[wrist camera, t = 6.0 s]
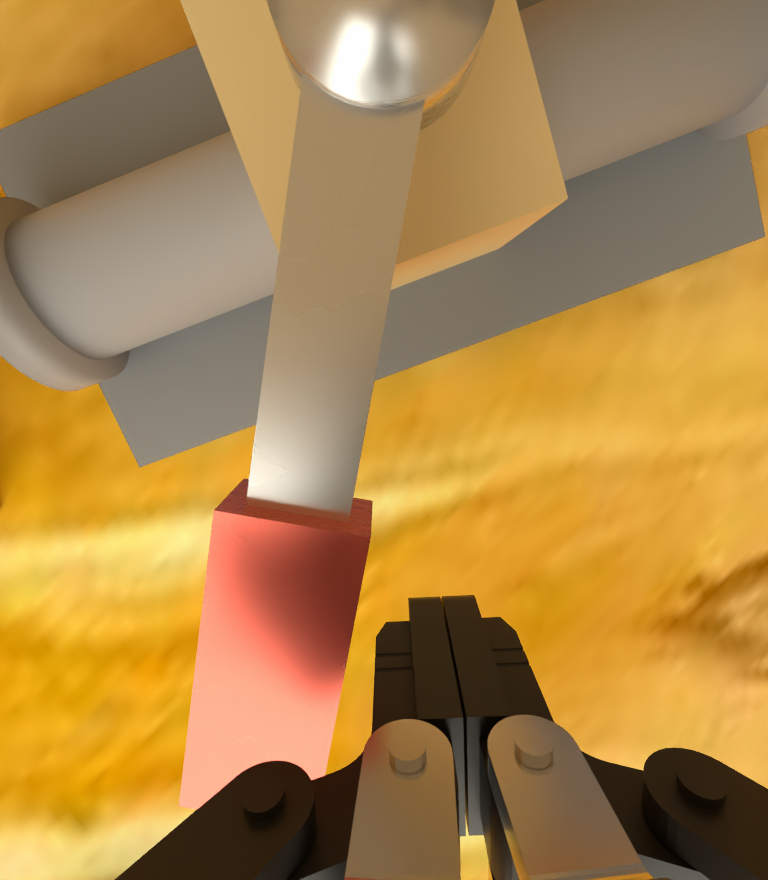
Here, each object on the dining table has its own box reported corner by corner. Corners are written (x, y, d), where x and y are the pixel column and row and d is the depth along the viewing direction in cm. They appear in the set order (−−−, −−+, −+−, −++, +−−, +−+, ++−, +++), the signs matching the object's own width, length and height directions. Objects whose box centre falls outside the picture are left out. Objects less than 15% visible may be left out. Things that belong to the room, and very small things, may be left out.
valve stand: (661, -122, 16) (1104, -842, 6) (734, 244, 18) (1136, 142, 9) (11, 155, 18) (-450, -69, 8) (157, 457, 20) (-57, 575, 10)
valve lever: (299, -99, 8) (275, -228, 6) (496, -53, 8) (529, -167, 6) (198, 728, 11) (162, 804, 9) (338, 749, 11) (330, 828, 9)
